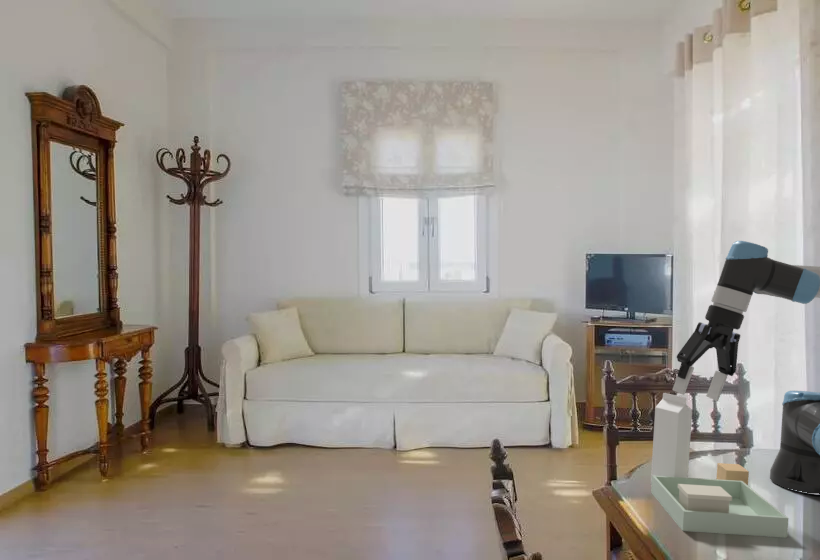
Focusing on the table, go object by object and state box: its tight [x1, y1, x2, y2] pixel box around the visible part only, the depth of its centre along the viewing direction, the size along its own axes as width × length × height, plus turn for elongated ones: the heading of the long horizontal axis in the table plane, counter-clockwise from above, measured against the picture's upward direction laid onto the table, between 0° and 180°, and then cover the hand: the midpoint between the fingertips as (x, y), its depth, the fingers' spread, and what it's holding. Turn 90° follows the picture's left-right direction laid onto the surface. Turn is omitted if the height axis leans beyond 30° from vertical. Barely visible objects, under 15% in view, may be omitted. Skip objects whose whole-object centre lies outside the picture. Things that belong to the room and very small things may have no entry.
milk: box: [650, 392, 693, 486], centre depth 152 cm, size 6×6×22 cm
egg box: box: [678, 484, 732, 513], centre depth 131 cm, size 9×6×7 cm, turn 86°
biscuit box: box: [716, 462, 750, 486], centre depth 150 cm, size 5×5×6 cm
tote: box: [650, 475, 789, 539], centre depth 136 cm, size 20×20×4 cm
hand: (695, 395), depth 148 cm, fingers open, 13 cm apart
